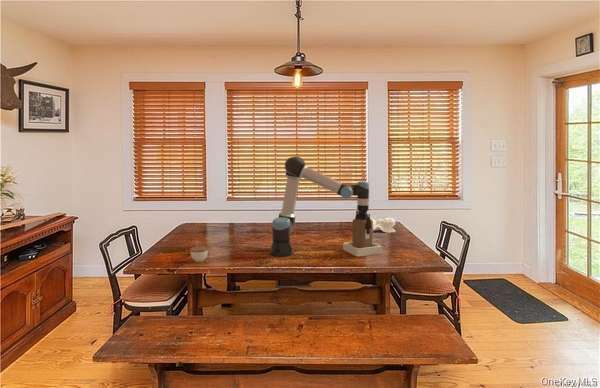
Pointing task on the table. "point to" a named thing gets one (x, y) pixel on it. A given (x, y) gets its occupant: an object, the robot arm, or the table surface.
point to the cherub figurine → (384, 225)
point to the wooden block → (361, 234)
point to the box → (362, 249)
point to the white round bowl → (199, 253)
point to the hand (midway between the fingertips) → (362, 236)
